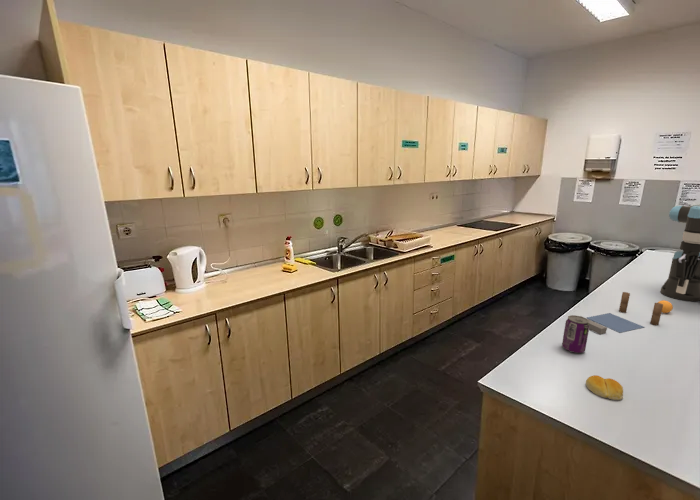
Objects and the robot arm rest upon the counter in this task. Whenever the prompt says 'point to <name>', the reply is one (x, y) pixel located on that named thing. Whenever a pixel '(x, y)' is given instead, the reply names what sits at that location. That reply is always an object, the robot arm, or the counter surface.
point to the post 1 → (624, 302)
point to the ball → (666, 306)
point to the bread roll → (605, 387)
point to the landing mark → (615, 322)
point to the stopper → (597, 327)
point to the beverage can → (575, 334)
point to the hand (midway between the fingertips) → (680, 292)
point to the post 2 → (656, 314)
